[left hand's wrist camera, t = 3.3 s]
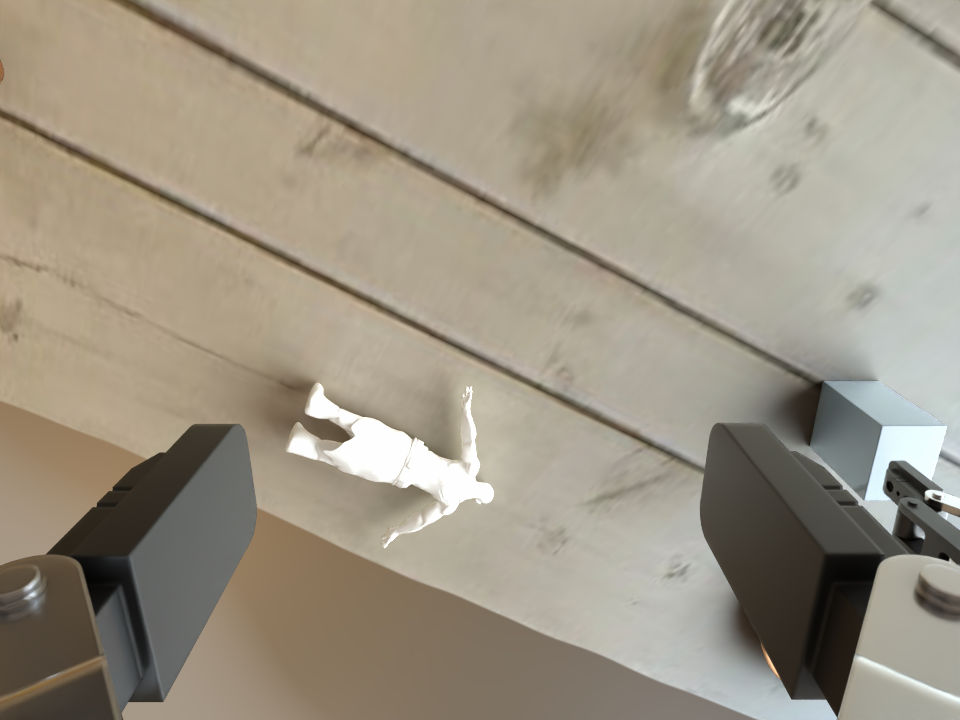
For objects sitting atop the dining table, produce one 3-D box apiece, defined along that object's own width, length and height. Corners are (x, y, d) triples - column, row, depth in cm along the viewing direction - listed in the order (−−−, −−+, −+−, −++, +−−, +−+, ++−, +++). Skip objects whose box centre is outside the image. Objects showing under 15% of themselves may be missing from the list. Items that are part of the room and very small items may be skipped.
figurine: (265, 482, 57) (445, 546, 62) (253, 518, 52) (449, 584, 57) (344, 317, 51) (533, 401, 56) (338, 340, 47) (546, 430, 52)
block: (809, 446, 56) (863, 500, 48) (822, 380, 54) (882, 425, 46) (862, 446, 56) (926, 500, 48) (878, 380, 54) (947, 425, 46)
